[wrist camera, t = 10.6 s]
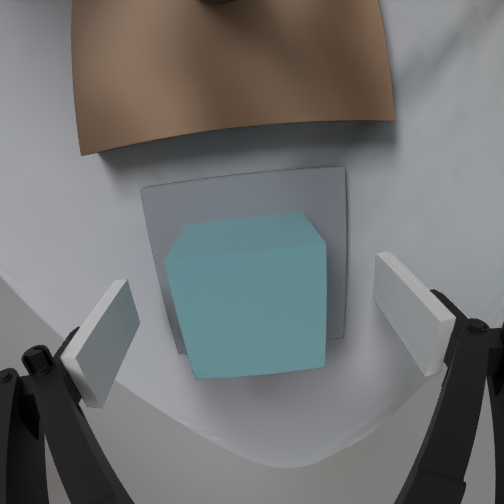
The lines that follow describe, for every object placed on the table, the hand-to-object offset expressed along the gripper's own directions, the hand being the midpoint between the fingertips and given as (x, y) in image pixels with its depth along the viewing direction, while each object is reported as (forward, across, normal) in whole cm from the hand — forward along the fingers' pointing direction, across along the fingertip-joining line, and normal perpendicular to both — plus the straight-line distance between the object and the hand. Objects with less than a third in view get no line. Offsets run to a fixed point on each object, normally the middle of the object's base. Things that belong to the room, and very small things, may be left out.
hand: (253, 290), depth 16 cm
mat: (+3, 0, 0) cm, 3 cm away
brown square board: (+3, 0, -16) cm, 16 cm away
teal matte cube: (+2, 0, 0) cm, 2 cm away
